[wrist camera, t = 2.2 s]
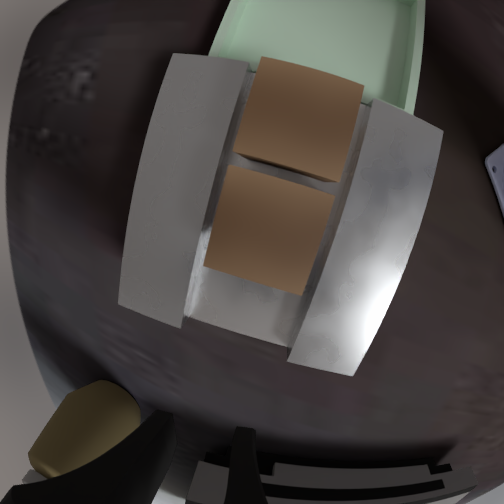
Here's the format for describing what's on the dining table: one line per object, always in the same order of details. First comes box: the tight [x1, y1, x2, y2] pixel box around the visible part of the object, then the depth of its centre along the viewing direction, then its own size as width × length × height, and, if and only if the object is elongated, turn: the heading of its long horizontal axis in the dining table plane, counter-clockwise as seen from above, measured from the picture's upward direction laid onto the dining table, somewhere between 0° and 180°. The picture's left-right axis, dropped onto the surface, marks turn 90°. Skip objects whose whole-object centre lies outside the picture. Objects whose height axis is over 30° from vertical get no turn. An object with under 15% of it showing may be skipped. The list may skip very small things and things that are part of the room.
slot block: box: [118, 53, 443, 376], centre depth 15 cm, size 14×14×4 cm
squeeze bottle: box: [22, 380, 141, 484], centre depth 15 cm, size 8×8×18 cm
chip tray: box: [208, 0, 425, 115], centre depth 13 cm, size 11×12×2 cm
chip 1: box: [232, 56, 365, 182], centre depth 11 cm, size 4×4×4 cm
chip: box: [203, 165, 335, 296], centre depth 12 cm, size 4×4×4 cm
